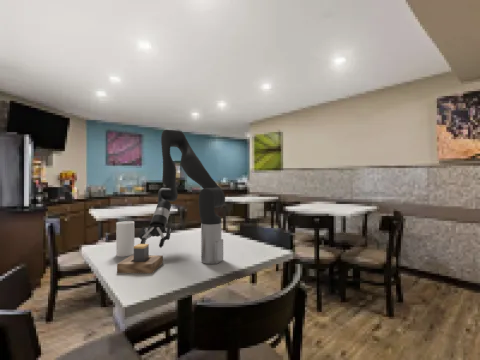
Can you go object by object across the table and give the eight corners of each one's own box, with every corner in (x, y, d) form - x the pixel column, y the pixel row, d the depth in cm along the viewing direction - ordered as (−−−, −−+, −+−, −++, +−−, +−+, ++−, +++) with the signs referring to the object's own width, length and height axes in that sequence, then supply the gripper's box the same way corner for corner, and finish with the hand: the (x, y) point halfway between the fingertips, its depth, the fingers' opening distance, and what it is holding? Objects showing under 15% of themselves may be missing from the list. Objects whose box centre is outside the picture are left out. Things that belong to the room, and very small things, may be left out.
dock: (162, 263, 109) (162, 255, 109) (151, 273, 97) (151, 264, 97) (131, 263, 110) (131, 255, 110) (117, 272, 98) (117, 263, 98)
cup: (129, 251, 130) (129, 220, 130) (137, 253, 125) (137, 222, 125) (113, 254, 124) (113, 222, 124) (121, 257, 119) (121, 224, 119)
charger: (148, 266, 106) (148, 243, 106) (144, 269, 101) (144, 246, 102) (138, 266, 106) (138, 243, 106) (133, 269, 102) (133, 246, 102)
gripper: (144, 213, 124) (133, 242, 112) (172, 213, 123) (164, 242, 111) (148, 222, 129) (138, 250, 117) (175, 222, 128) (168, 251, 117)
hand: (151, 246), depth 114 cm, fingers open, 8 cm apart
